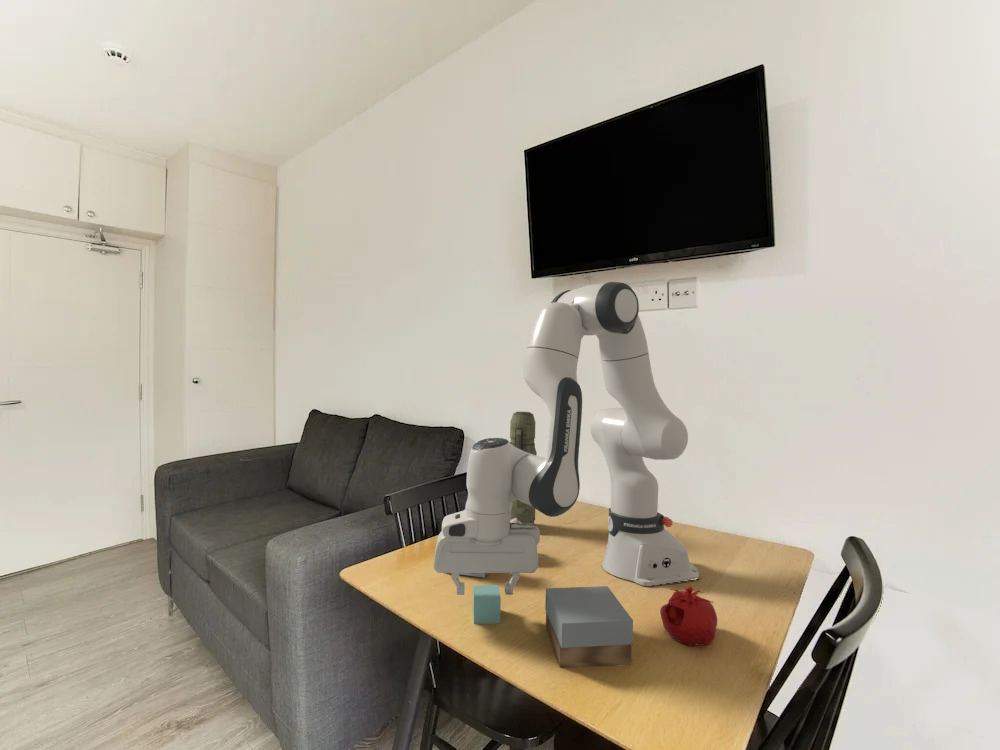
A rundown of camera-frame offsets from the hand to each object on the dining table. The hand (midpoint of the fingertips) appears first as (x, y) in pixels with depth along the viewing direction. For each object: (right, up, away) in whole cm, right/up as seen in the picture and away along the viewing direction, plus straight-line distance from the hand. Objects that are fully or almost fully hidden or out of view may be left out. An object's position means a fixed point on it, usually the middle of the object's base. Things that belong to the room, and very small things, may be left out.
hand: (484, 593), depth 90 cm
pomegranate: (+38, -6, -4) cm, 39 cm away
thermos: (+9, -4, +51) cm, 52 cm away
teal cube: (0, -5, 0) cm, 5 cm away
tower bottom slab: (+18, -6, -8) cm, 21 cm away
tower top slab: (+18, -2, -8) cm, 20 cm away
